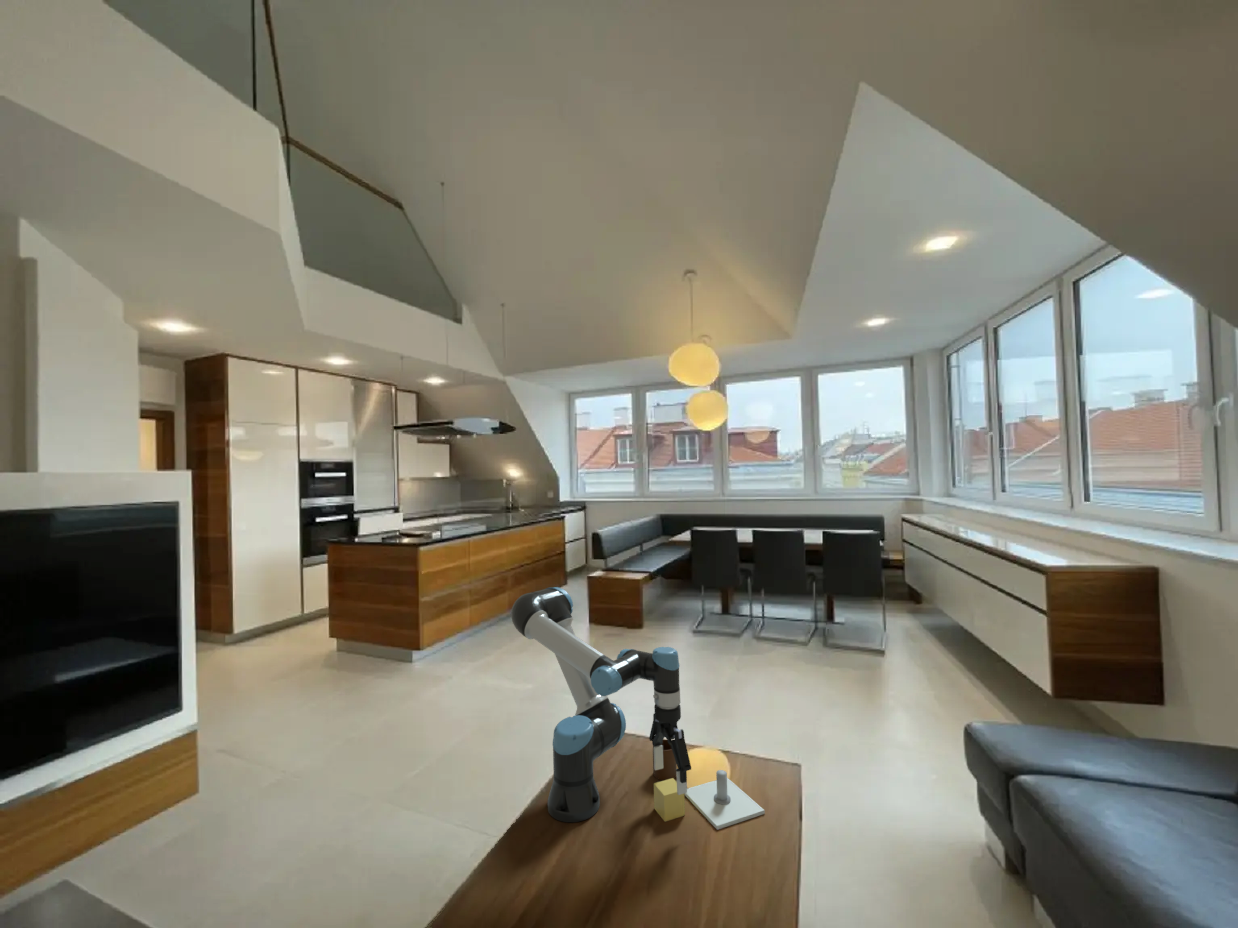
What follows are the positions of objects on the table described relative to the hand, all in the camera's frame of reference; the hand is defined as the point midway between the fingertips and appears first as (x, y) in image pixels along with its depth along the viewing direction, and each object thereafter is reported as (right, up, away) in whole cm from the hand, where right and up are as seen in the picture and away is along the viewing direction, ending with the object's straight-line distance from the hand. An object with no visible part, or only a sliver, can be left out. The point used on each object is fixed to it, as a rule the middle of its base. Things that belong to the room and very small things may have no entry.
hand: (670, 780), depth 143 cm
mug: (+2, -10, +19) cm, 22 cm away
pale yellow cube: (0, -9, 0) cm, 9 cm away
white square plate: (+16, -9, +3) cm, 18 cm away
